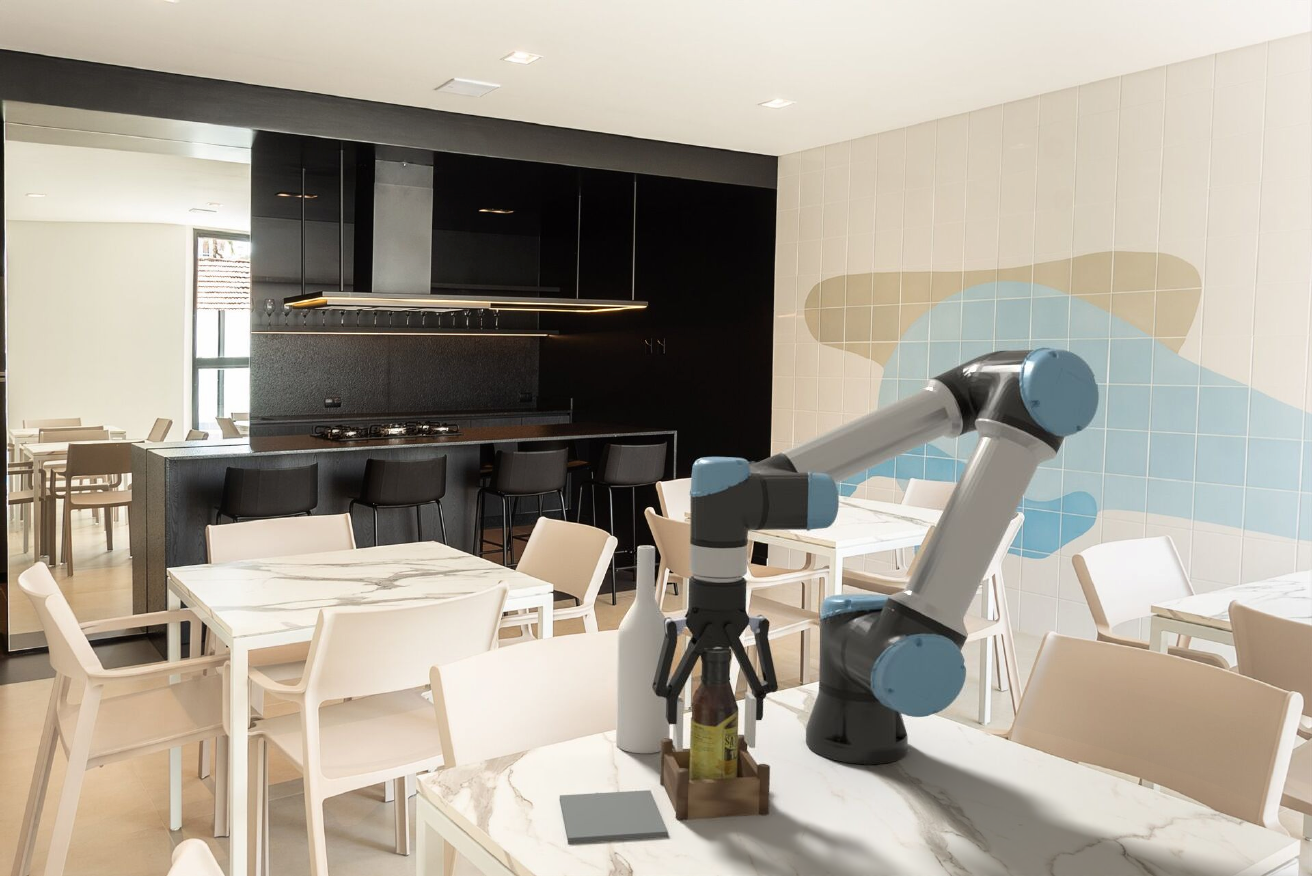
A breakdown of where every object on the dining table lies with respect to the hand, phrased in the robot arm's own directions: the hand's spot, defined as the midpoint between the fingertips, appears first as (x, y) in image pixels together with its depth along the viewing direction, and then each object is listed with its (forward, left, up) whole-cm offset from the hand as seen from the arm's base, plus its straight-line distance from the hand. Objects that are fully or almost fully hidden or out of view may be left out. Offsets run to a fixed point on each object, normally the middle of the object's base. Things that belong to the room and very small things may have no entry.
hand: (713, 745), depth 128 cm
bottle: (+6, -20, -7) cm, 22 cm away
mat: (+14, +4, -7) cm, 16 cm away
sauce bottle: (0, 0, -7) cm, 7 cm away
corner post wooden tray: (0, 0, -7) cm, 7 cm away
